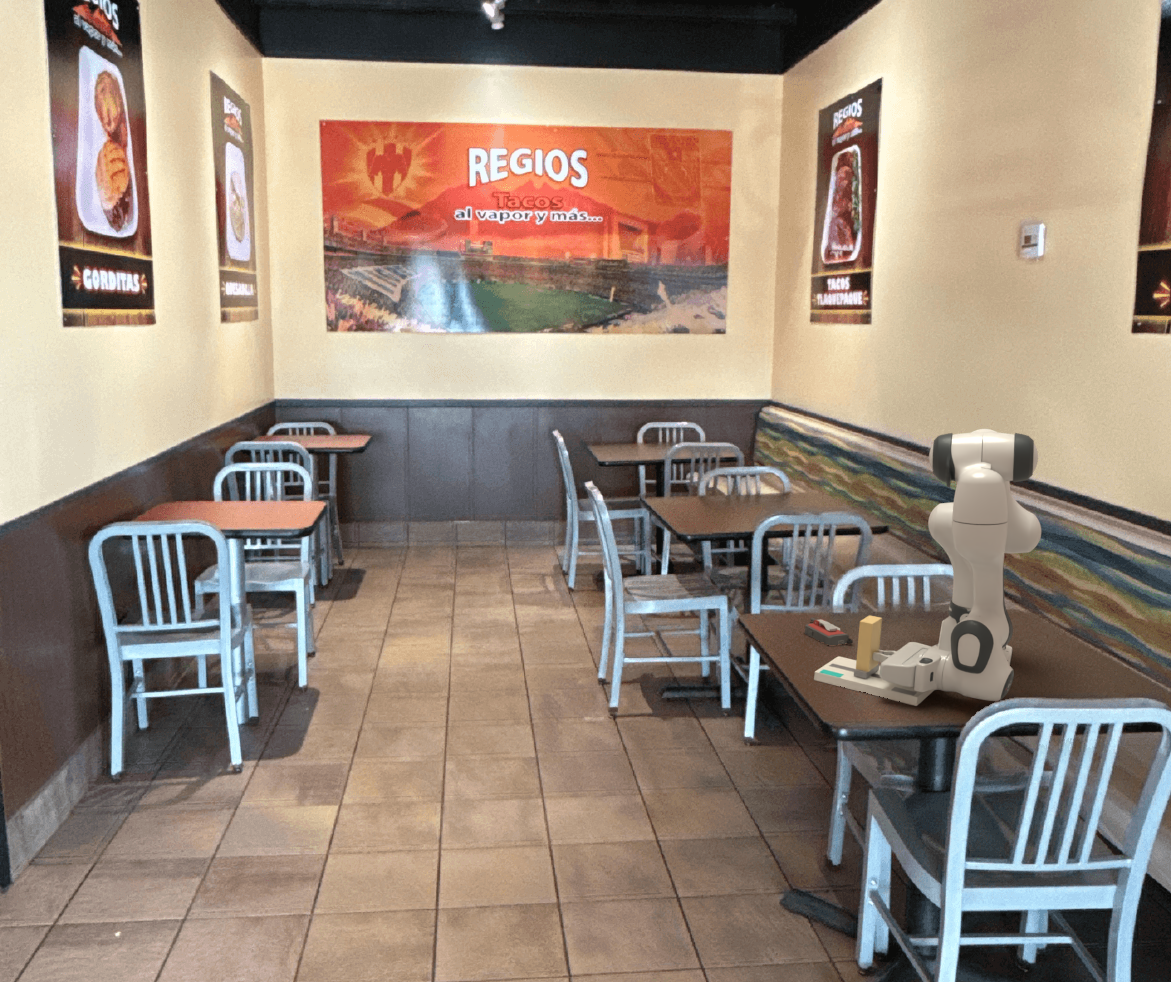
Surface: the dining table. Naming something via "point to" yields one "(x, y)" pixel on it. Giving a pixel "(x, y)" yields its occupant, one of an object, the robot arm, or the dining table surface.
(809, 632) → the red toggle switch
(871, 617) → the slider tab
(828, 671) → the switch track
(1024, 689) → the dining table surface
